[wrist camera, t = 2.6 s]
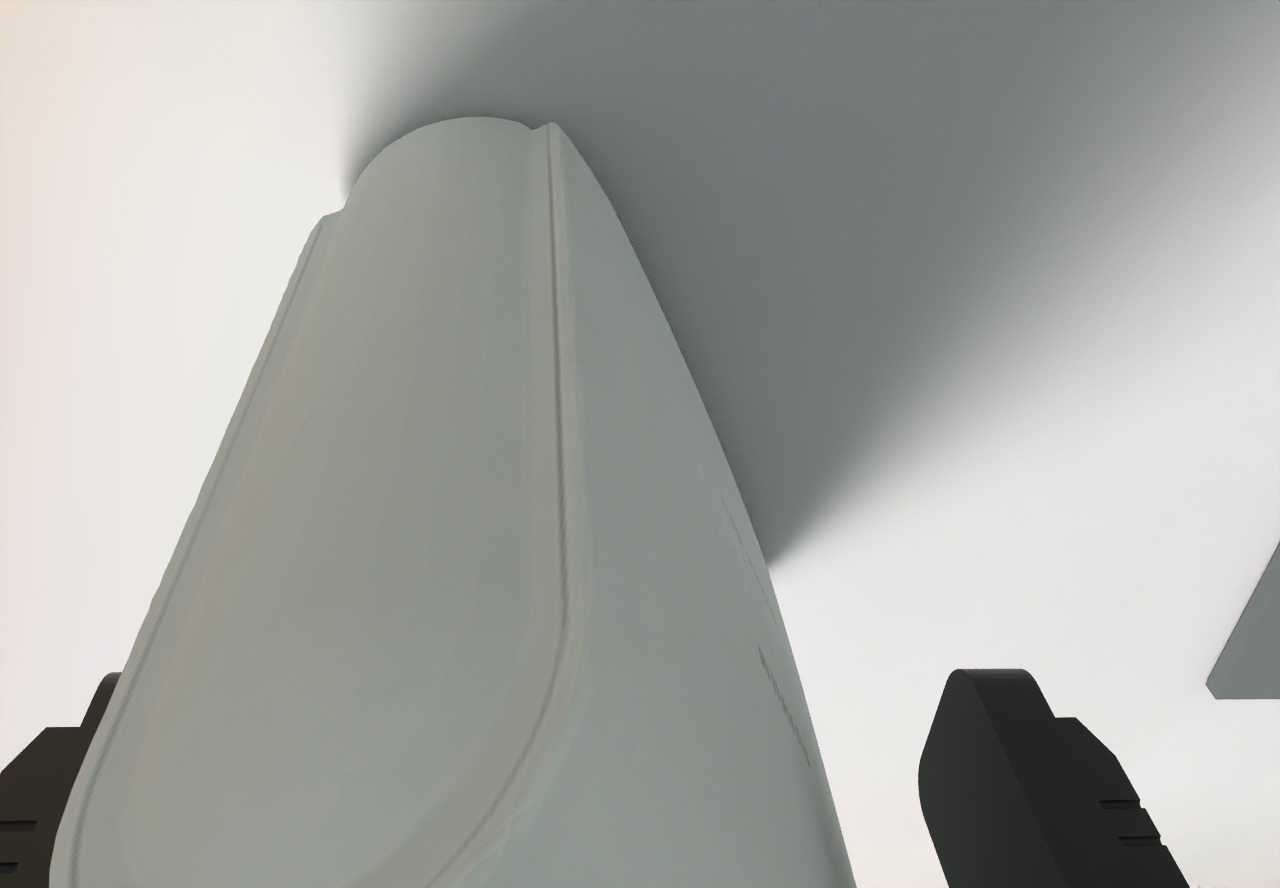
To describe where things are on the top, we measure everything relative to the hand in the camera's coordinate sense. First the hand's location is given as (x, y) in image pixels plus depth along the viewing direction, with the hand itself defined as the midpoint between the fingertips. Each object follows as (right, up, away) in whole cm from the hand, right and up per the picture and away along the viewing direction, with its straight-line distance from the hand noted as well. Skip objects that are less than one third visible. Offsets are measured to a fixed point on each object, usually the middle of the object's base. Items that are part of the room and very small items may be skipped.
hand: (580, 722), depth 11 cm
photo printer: (0, +4, +6) cm, 7 cm away
